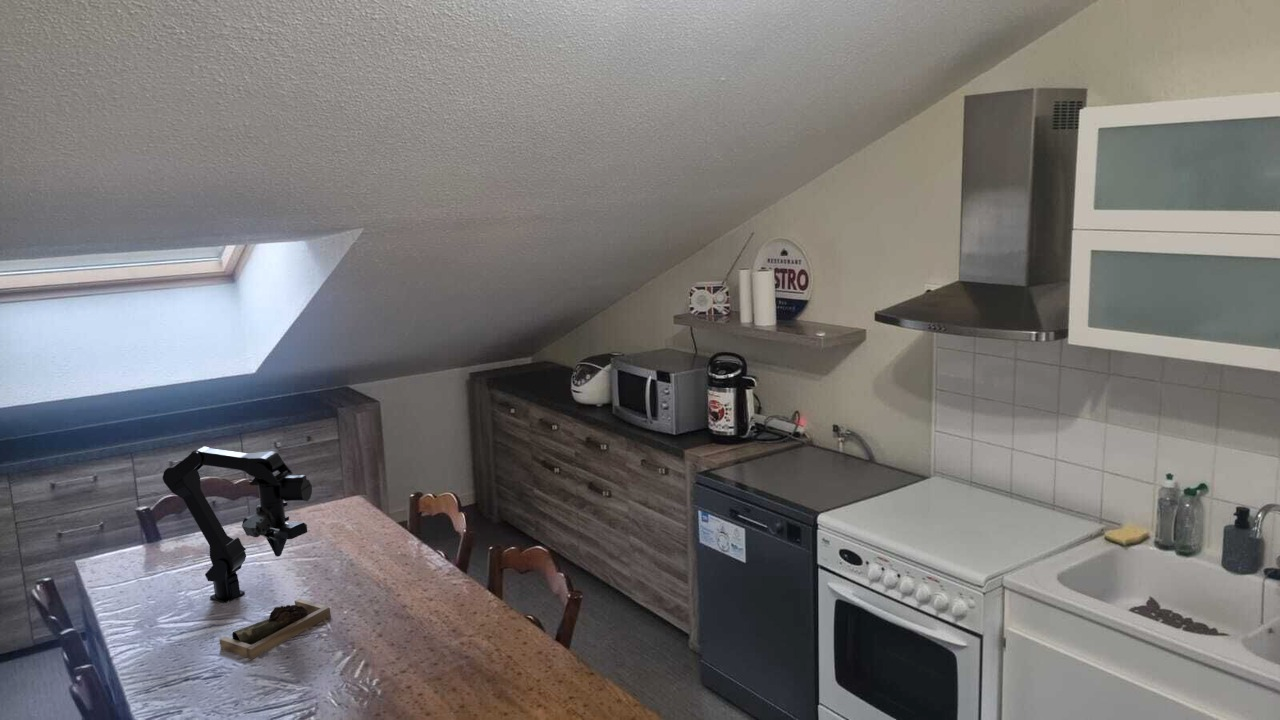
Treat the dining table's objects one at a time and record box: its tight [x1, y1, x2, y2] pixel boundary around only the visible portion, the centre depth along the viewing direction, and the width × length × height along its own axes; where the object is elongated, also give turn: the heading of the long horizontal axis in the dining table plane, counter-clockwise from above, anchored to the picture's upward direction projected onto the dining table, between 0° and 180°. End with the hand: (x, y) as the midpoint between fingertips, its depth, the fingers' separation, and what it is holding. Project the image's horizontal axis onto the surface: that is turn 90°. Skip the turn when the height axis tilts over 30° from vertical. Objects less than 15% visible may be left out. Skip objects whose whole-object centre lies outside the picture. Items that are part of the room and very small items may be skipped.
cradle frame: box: [219, 598, 332, 660], centre depth 236 cm, size 11×24×2 cm, turn 150°
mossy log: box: [231, 604, 308, 645], centre depth 235 cm, size 18×7×6 cm, turn 135°
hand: (278, 556), depth 253 cm, fingers closed
